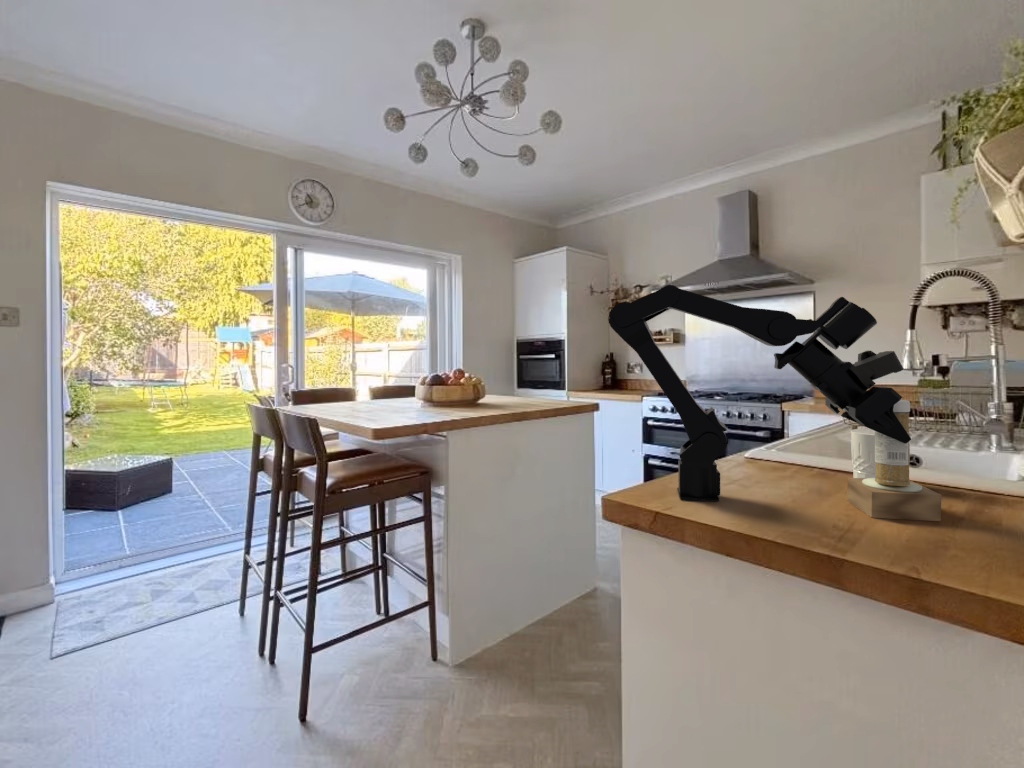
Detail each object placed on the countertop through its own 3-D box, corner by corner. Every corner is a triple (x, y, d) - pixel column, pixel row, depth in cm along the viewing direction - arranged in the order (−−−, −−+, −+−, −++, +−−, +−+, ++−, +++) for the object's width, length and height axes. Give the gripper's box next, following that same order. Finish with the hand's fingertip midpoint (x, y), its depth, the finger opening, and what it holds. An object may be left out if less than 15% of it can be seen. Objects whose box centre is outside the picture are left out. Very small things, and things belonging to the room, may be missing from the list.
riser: (871, 517, 75) (871, 490, 75) (847, 500, 84) (847, 475, 84) (940, 521, 73) (941, 492, 73) (908, 503, 82) (909, 478, 82)
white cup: (850, 476, 100) (850, 427, 100) (899, 481, 96) (900, 430, 95) (849, 484, 94) (850, 433, 93) (901, 490, 89) (902, 436, 89)
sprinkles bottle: (909, 483, 78) (909, 399, 78) (910, 488, 75) (910, 400, 75) (874, 480, 81) (874, 398, 81) (873, 484, 77) (873, 399, 77)
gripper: (886, 331, 70) (981, 410, 66) (847, 335, 87) (921, 398, 84) (821, 386, 73) (908, 464, 70) (796, 379, 90) (866, 441, 87)
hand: (902, 438), depth 78 cm, fingers open, 5 cm apart
